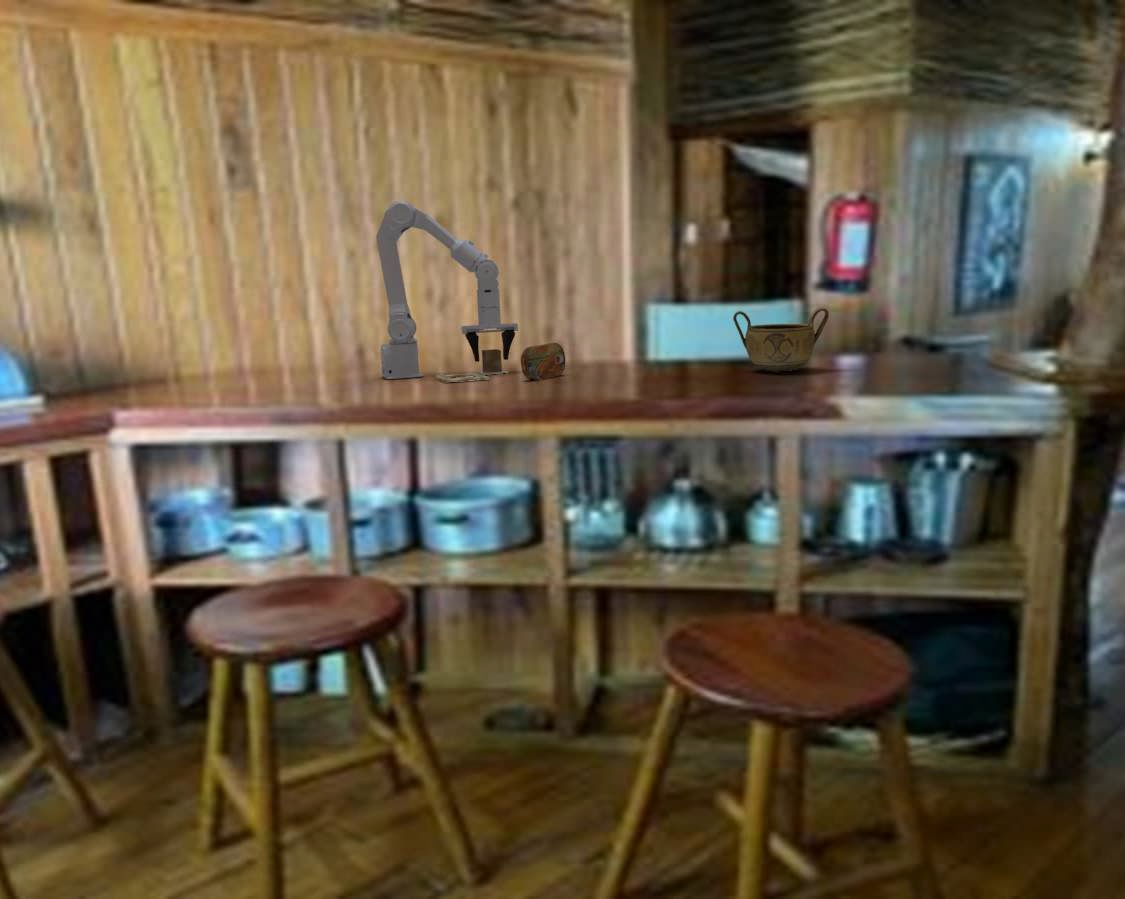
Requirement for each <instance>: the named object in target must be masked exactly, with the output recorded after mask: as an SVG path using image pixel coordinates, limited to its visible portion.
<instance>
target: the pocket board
mask: <svg viewBox="0 0 1125 899" xmlns="http://www.w3.org/2000/svg"><path fill="white" fill-rule="evenodd" d="M466 376H473V377H468V378H456V377H466ZM435 378H436V379H435ZM451 378H455V379H451ZM434 379H435V380H437V379H438V380H437V381H439V380H440V381H439V382H441V381H443V382H445V383H447V382H460V381H469V380H489V381H490V377H489V376H485V375H482V374H480V373H476V372H470V373H456V374H454V373H453V374H442V375H441V374H439V375H434ZM443 382H442V383H443ZM445 383H444V384H445Z"/></svg>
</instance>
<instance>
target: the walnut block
mask: <svg viewBox="0 0 1125 899" xmlns="http://www.w3.org/2000/svg"><path fill="white" fill-rule="evenodd" d="M481 360H482V361H481V363H482V371H484V372H486V373H490V372H502V370H503V366H502V365H503V364H502V350H500V349H498V348H495V349H482V350H481Z"/></svg>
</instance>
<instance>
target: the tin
mask: <svg viewBox="0 0 1125 899" xmlns="http://www.w3.org/2000/svg"><path fill="white" fill-rule="evenodd" d="M520 367H521V368H520V369H521V371H522V374H523V375H524V377H525V378H526V379H528V380H530V379H532V380H531V381H541V380H540V379H543V380H546V379H545V378H547V379H551V378H550V377H552V378H556V377H555V376H557V377H560V376H561V375H562V373H563V372H564V371H565V367H566V354H565V350H564V348H563V346H562V345H560V344H559V343H556V342H551V343H545V344H539V345H532V346H527V347H526V348H524V350H523V351H522V353H521V356H520Z"/></svg>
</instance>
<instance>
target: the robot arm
mask: <svg viewBox="0 0 1125 899" xmlns="http://www.w3.org/2000/svg"><path fill="white" fill-rule="evenodd" d="M410 228H414V229H418V230H423V231H425V232H427V233H428V234H429V235H431V236H432V237H434V238H435V239H436V240H437V241H439V243H442V245H444V246H445V247H446V248H448V249H449V250H450V256H451V258H452V259H453V260H455V262H457V263H458V264H459V265H461V266H462V267H463V268H464V269H465V270H466V271H468V272H469V273H474V275H475V277H476V279H477V281H476V282H477V290H476V301H477V317H478V318H477V319H478V324H474V325H473V324H472V325H462V326H461V334H462V335H465V338H466V341H467V342H468V345H469V346H470V348H471V351H472V354H473V358H474V362H476V363H479V362H480V352H479V350H480V349H479V338H480V335H478V334H482V333H483V334H484V333H485V334H486V333H497V332H498V333H500V332H501V333H500V334H501V342H502V358H503V360H505V361H508V360H509V354H510V349H511V346H512V343H513V341H514V338H515V337H516V332H519V324H518V323H516V322H515V323H514V322H513V323H512V322H511V323H501V322H502V321H501V301H500V288H499V284H500V283H499V281H498V277H499V267H498V265H497V264H496V263H495V262H494V260H492V259H488V257H489V255H488V254H487V253H483V252H482V251H480V250H479V249H477V248H476V247H475V246H474V242H473V241H472V240H469V241H468V240H467V239H465V238H463V239H457V237H455V236H453V235H452V233H450V232H449V231H448V230H447V229H446V228H444V227H443V226H442V225H441V224H439V223H438V222H437V221H436V219H434V218H433V217H432V216H430V215H429V214H427V213H425V212H424V211H422V210H420V209H418V208H416V207H415V206H414V205H413V204H411V203H408V202H407V201H404V200H397V201H394V202H393V203H392V204H391V205H390V206H389V207H388V208H387V209H386V210H385V211H384V214H383V218H382V220H381V223H380V226H379V227H378V231H377V233H376V235H375V236H376V238H375V239H376V245H377V250H378V254H379V260H380V265H381V271H382V275H383V276H382V277H383V281H384V282H383V283H384V287H385V292H386V298H387V304H388V318H389V320H388V325H387V334H388V336H389V337H390V339H389V340H388V343H383V344H381V346H380V359H381V361H380V362H381V373H382V375H381V376H383V377H382V378H384V379H385V378H386V379H385V380H395V379H397V380H399V379H410V378H422V376H423V377H424V375H423V374H422V373H420V364H419V362H420V361H419V348H418V339H416V338H415V336H414V335H415V334H416V332H417V323H416V321H415V320H414V319H413V317H412V314H411V309H410V306H409V304H408V299H407V294H406V288H405V283H404V278H403V273H402V267H401V260H400V255H399V250H398V244H397V242H398V241H399V239H400V238H401V236H402V235H403V234H404V232H406V231H407V230H409V229H410Z"/></svg>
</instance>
